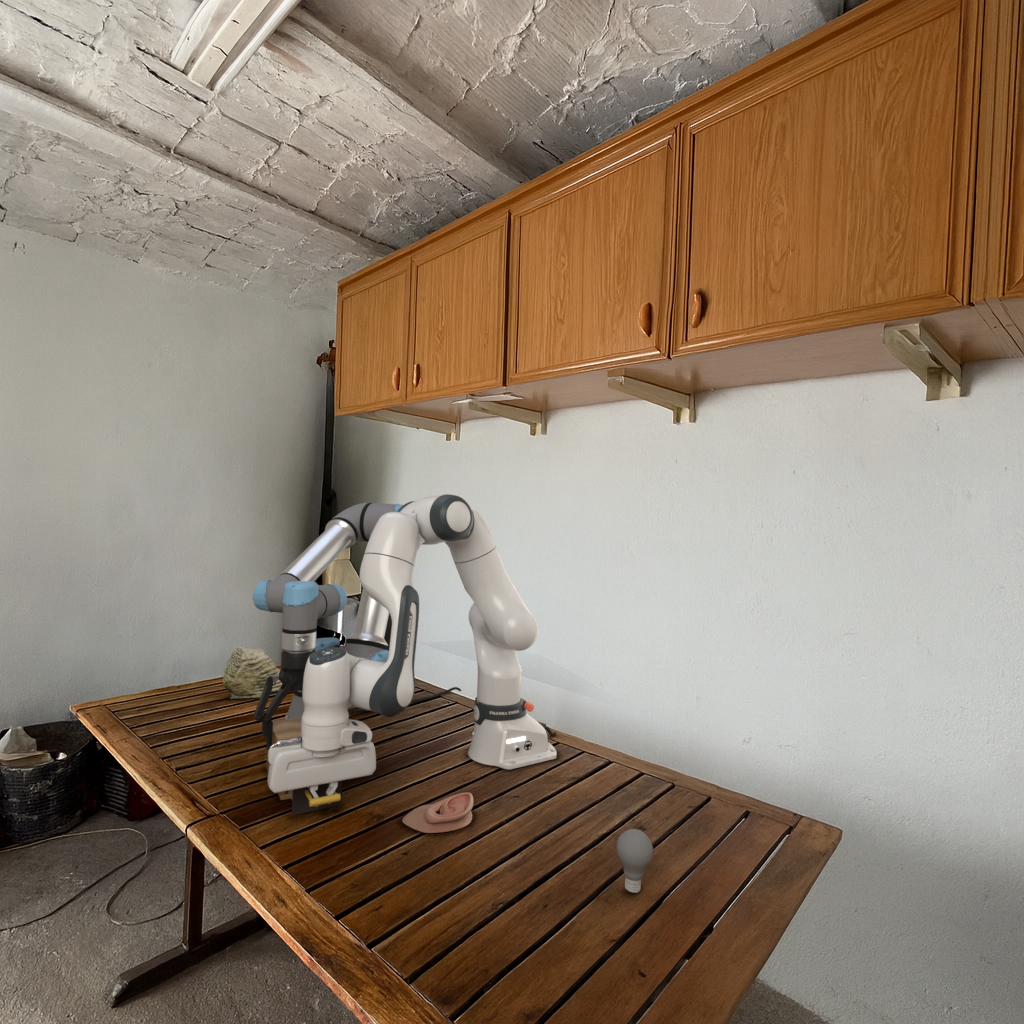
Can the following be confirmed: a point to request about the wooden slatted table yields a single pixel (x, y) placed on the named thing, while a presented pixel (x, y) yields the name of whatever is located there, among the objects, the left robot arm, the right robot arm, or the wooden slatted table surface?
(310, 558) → the left robot arm
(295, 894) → the wooden slatted table surface
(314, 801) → the drawer
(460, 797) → the anatomical model
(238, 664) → the fossil
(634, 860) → the light bulb
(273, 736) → the cabinet
